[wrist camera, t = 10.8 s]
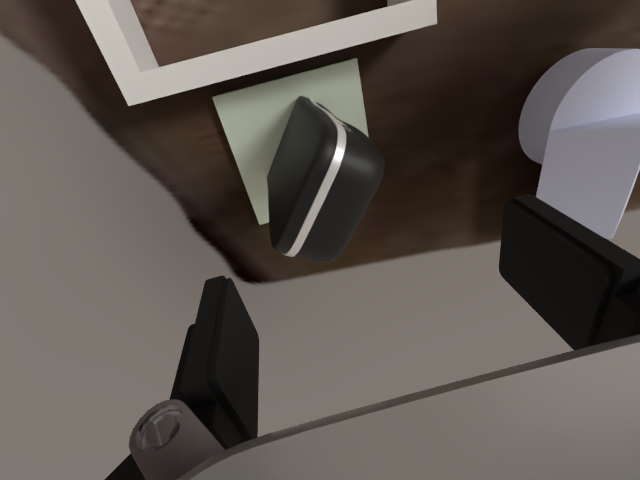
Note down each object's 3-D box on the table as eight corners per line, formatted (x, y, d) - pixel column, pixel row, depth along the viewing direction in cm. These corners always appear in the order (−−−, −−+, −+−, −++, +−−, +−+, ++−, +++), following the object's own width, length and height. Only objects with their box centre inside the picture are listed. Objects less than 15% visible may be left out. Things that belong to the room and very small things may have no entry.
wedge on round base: (592, 193, 32) (639, 38, 25) (664, 226, 27) (750, 37, 20) (504, 213, 32) (528, 60, 25) (558, 251, 26) (608, 65, 19)
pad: (354, 58, 23) (357, 58, 22) (374, 189, 28) (376, 192, 28) (213, 96, 23) (212, 97, 22) (259, 221, 28) (259, 224, 27)
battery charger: (309, 197, 27) (339, 285, 17) (264, 180, 26) (268, 266, 16) (347, 112, 24) (409, 161, 14) (299, 89, 23) (330, 125, 13)
